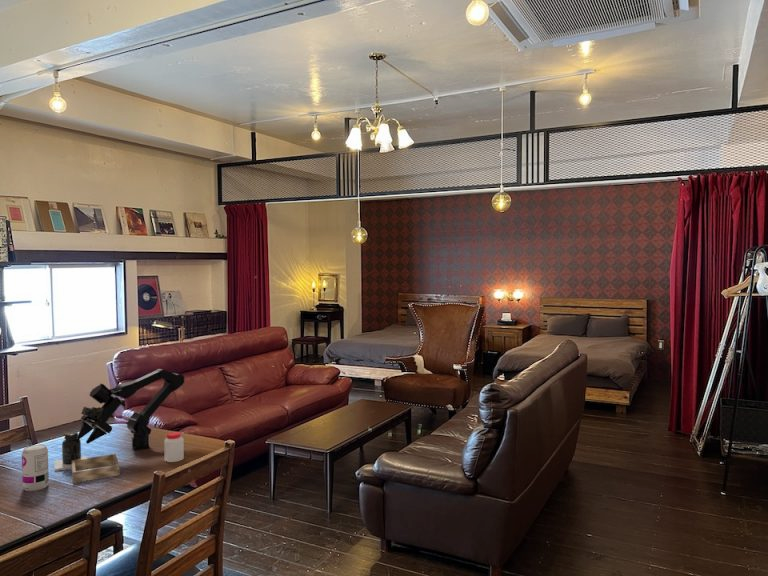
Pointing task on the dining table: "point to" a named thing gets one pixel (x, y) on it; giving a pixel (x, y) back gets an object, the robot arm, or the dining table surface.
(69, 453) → the supplement bottle
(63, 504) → the dining table surface
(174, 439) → the pill bottle
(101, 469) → the crate
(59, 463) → the mat
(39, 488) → the supplement can
